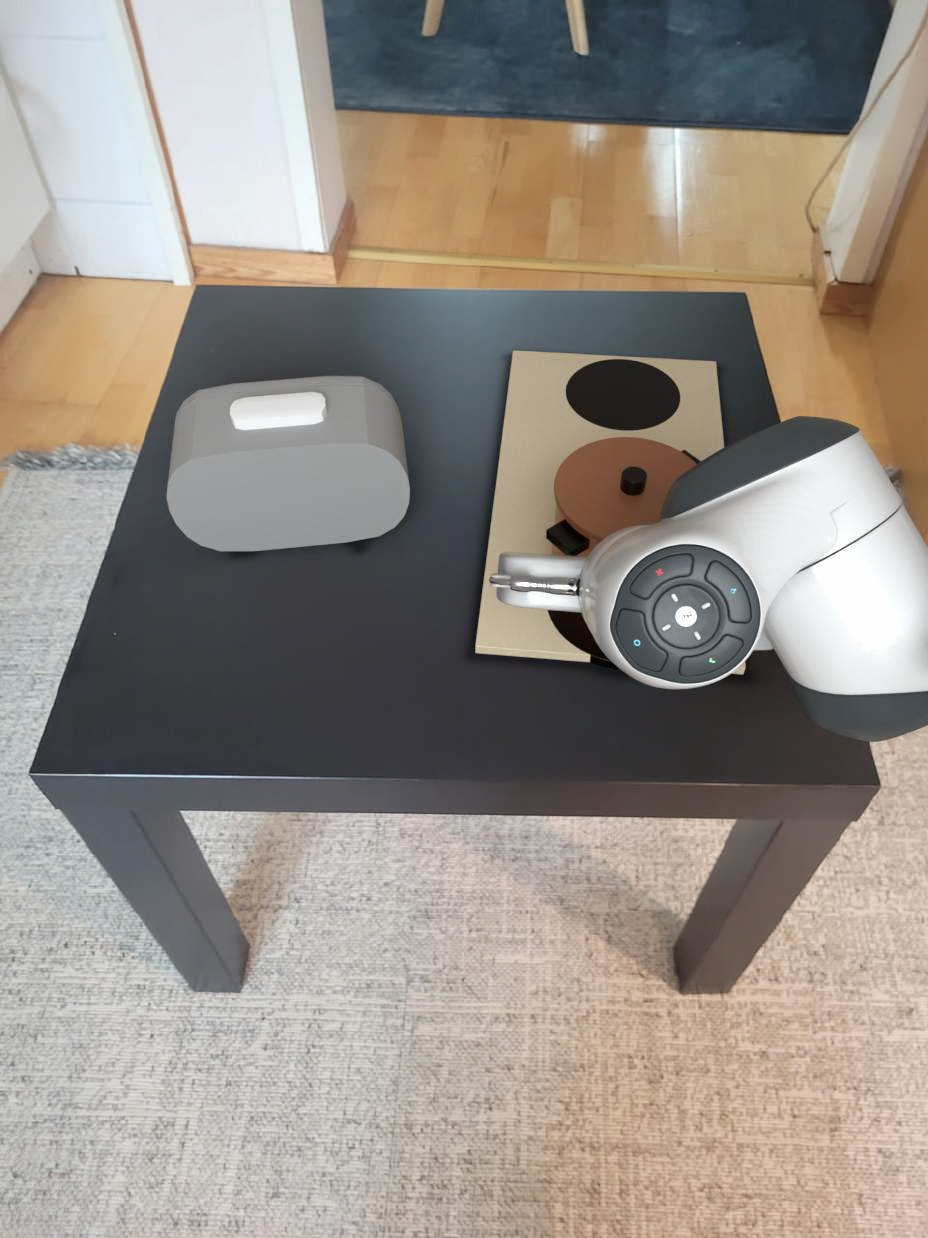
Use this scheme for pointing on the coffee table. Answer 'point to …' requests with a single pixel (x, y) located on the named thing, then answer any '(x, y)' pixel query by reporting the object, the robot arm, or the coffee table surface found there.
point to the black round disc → (579, 635)
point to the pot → (612, 490)
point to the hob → (531, 460)
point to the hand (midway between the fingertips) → (626, 580)
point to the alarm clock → (288, 464)
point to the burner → (622, 394)
